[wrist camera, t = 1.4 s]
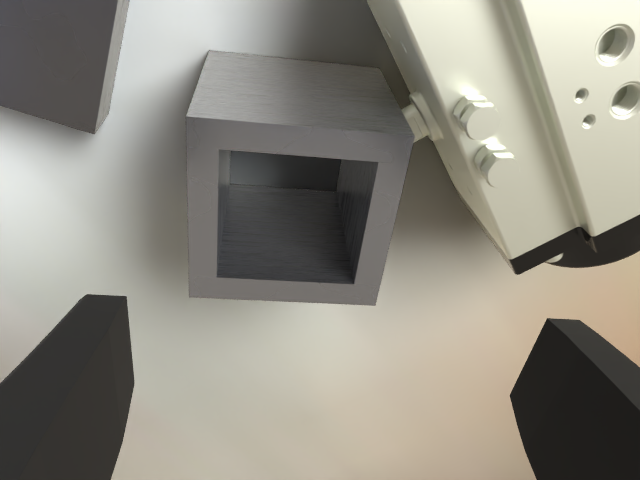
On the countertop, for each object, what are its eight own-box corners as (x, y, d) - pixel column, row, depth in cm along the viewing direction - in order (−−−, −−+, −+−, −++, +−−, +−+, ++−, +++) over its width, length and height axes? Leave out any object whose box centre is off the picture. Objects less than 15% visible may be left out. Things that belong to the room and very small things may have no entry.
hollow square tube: (207, 200, 18) (189, 297, 14) (209, 50, 16) (186, 116, 11) (353, 210, 19) (375, 305, 15) (379, 68, 16) (415, 135, 12)
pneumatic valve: (780, 69, 18) (445, 242, 20) (750, -406, 12) (275, -86, 14) (973, 128, 13) (508, 347, 15) (1087, -613, 7) (290, -81, 9)
